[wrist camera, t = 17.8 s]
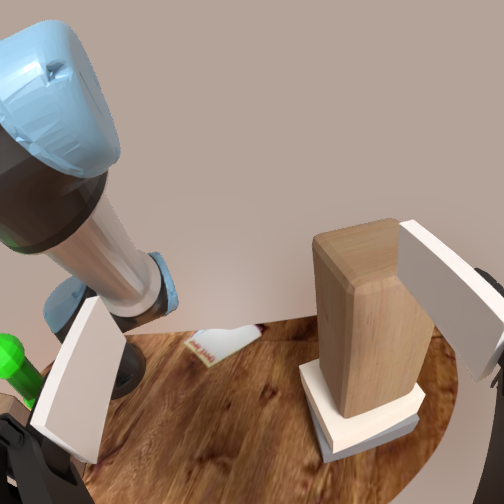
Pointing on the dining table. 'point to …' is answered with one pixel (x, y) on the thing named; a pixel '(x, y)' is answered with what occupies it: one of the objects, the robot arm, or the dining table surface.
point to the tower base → (376, 440)
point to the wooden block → (366, 318)
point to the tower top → (360, 426)
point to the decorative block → (17, 410)
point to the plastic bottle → (19, 369)
